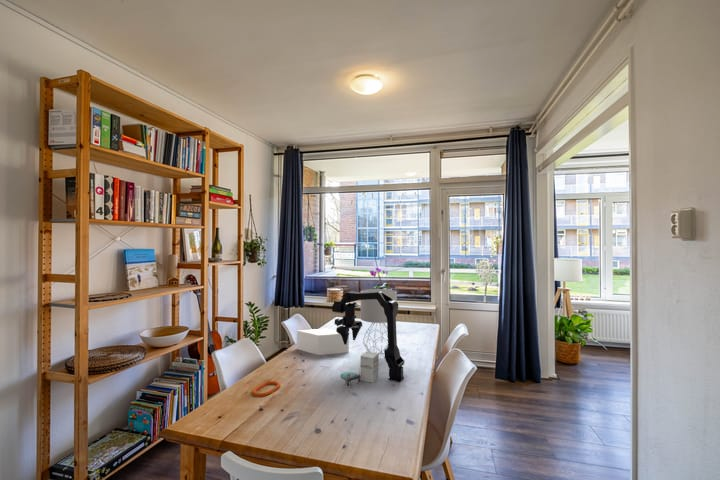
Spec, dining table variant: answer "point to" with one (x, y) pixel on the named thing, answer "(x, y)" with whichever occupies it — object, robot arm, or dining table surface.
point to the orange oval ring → (268, 391)
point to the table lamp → (375, 313)
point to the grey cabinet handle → (352, 380)
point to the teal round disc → (344, 375)
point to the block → (321, 341)
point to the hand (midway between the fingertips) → (349, 342)
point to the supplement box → (369, 367)
